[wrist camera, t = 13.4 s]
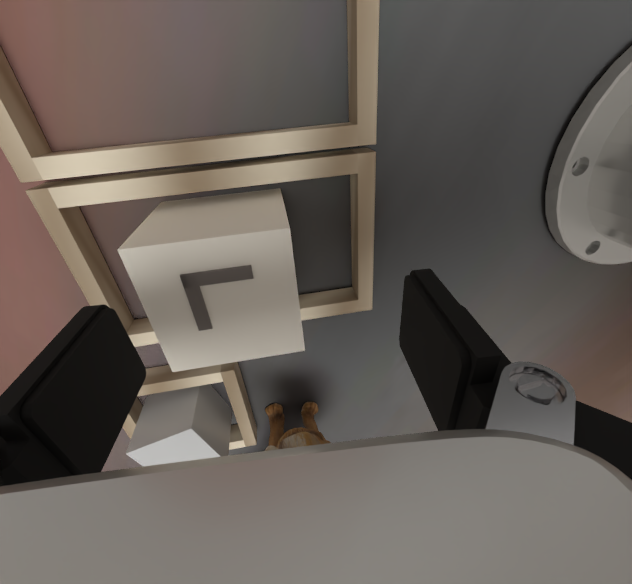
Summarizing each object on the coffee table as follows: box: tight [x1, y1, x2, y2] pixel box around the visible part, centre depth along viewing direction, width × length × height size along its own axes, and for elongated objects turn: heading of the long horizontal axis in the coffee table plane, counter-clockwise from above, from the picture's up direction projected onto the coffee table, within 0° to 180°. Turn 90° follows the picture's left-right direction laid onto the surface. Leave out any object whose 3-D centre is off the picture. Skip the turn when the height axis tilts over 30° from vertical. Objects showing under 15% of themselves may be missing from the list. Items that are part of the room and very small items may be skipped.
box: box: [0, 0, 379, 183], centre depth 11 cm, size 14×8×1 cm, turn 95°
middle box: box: [26, 147, 376, 347], centre depth 16 cm, size 14×8×1 cm, turn 95°
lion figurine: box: [265, 402, 330, 451], centre depth 21 cm, size 15×5×9 cm, turn 167°
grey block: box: [126, 384, 232, 467], centre depth 20 cm, size 4×4×4 cm
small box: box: [123, 362, 257, 450], centre depth 21 cm, size 8×8×1 cm
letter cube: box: [118, 188, 305, 372], centre depth 14 cm, size 6×6×6 cm
